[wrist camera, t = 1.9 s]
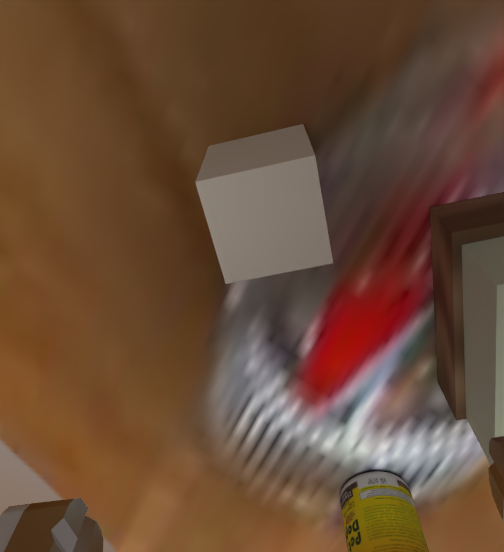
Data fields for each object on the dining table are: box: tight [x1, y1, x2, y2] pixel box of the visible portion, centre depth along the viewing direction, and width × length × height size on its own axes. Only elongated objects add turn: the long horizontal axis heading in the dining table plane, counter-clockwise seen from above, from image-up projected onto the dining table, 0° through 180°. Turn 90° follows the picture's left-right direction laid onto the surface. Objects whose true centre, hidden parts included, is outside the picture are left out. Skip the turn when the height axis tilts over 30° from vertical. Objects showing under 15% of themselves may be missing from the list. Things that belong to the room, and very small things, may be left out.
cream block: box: [195, 124, 333, 284], centre depth 23 cm, size 5×5×6 cm
